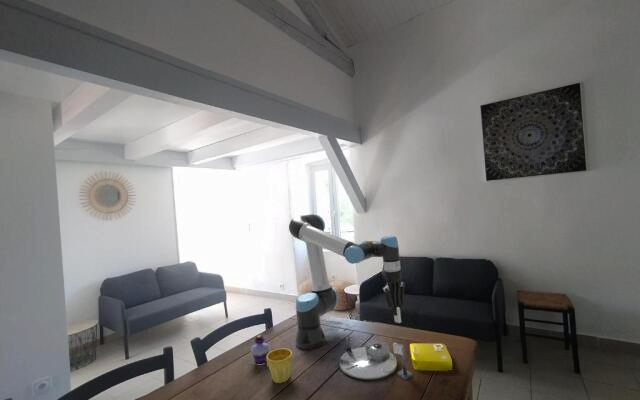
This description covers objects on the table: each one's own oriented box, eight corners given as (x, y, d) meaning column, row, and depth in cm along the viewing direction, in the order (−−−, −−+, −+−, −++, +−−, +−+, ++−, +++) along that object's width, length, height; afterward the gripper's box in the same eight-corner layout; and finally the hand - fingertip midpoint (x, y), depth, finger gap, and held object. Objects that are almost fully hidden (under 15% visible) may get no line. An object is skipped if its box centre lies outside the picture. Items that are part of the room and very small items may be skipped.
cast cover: (361, 355, 129) (361, 345, 129) (378, 347, 134) (377, 338, 134) (377, 364, 120) (376, 353, 121) (394, 356, 126) (393, 345, 126)
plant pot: (289, 386, 113) (287, 361, 113) (264, 385, 115) (262, 360, 115) (297, 371, 123) (295, 348, 123) (273, 371, 125) (271, 347, 125)
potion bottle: (261, 355, 139) (259, 330, 140) (274, 360, 134) (272, 333, 135) (247, 364, 132) (245, 337, 133) (260, 369, 127) (258, 341, 128)
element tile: (410, 352, 132) (409, 341, 132) (445, 353, 129) (444, 342, 129) (413, 371, 117) (412, 359, 117) (453, 372, 114) (452, 359, 114)
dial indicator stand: (395, 373, 116) (392, 343, 116) (402, 370, 118) (399, 340, 118) (405, 379, 111) (402, 348, 111) (412, 375, 113) (409, 344, 114)
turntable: (325, 359, 130) (324, 345, 131) (366, 342, 143) (365, 329, 143) (364, 387, 108) (362, 370, 108) (409, 364, 120) (408, 349, 120)
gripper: (387, 273, 129) (393, 328, 128) (408, 268, 135) (414, 320, 134) (376, 271, 135) (381, 323, 134) (396, 266, 142) (401, 315, 141)
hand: (397, 321), depth 134 cm, fingers closed
